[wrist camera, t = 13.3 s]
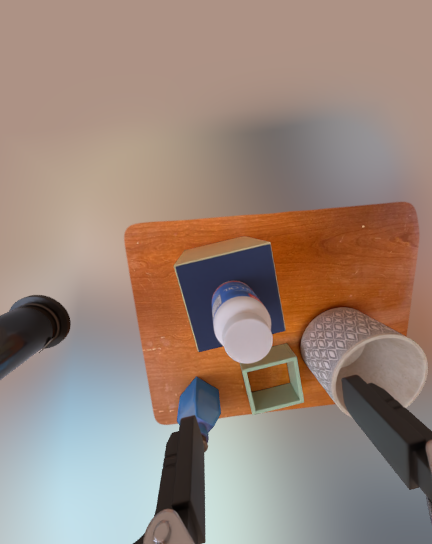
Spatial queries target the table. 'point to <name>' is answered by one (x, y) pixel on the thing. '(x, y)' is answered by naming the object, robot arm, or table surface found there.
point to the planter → (362, 355)
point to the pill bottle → (241, 322)
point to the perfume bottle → (200, 406)
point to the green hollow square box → (278, 394)
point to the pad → (231, 267)
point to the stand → (218, 250)
